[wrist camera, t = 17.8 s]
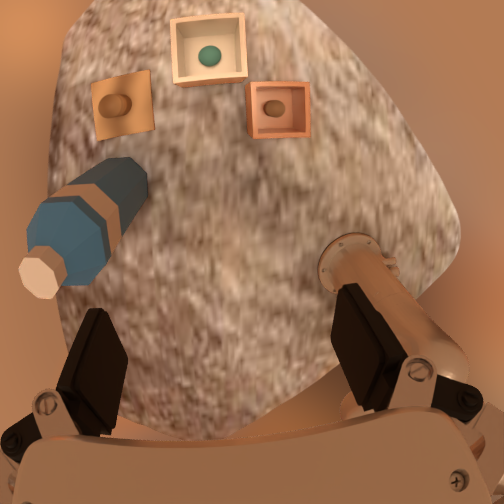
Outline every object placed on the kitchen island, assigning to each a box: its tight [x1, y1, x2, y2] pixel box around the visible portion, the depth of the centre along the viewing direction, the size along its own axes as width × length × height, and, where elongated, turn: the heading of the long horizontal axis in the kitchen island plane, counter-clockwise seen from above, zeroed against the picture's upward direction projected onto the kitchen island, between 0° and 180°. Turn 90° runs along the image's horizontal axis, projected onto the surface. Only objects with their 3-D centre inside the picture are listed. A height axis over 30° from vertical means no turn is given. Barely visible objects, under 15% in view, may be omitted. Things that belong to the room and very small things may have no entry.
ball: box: [198, 45, 221, 66], centre depth 31 cm, size 3×3×3 cm
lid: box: [91, 70, 155, 141], centre depth 32 cm, size 9×9×6 cm
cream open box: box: [170, 13, 248, 88], centre depth 29 cm, size 8×8×9 cm
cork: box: [263, 100, 285, 118], centre depth 35 cm, size 2×2×3 cm
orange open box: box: [245, 81, 311, 139], centre depth 34 cm, size 7×7×7 cm
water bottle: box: [19, 157, 148, 299], centre depth 29 cm, size 9×9×25 cm
